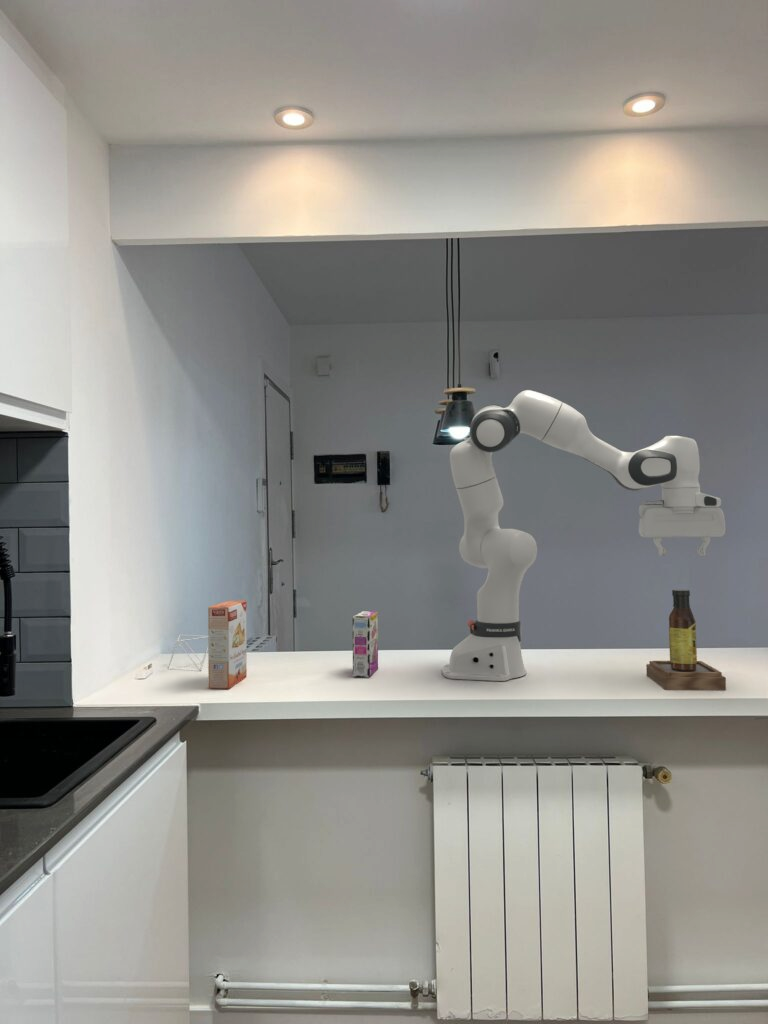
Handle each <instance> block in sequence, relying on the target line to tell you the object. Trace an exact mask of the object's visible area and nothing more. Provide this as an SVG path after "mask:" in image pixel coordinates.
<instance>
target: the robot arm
mask: <svg viewBox="0 0 768 1024" xmlns="http://www.w3.org/2000/svg"><path fill="white" fill-rule="evenodd" d="M586 419H587V418H585V416H584V415H583V414H582V413H581V412H580V411H578V410H576V409H575V407H572V406H571V405H569V404H568V403H565V402H563V401H561V400H559V399H557V398H554V397H552V396H549V395H547V394H545V393H541V392H538V391H534V390H531V389H526V390H523V391H521V392H519V393H518V394H517V395H516V396H515V397H514V398H513V399H512V402H511V403H510V404H509V405H508V406H506V407H504V406H502V405H499V404H489V405H486V406H484V407H481V409H479V410H478V411H477V412H476V413H475V415H473V418H472V420H471V423H470V426H469V438H467V439H466V440H463V441H460V442H459V443H457V444H455V446H453V447H452V448H451V450H450V452H449V462H450V469H451V470H450V471H451V475H452V480H453V483H454V486H455V489H456V492H457V495H458V500H459V503H460V507H461V510H462V513H463V519H464V520H463V522H464V530H463V536H462V537H461V538H460V541H459V546H458V547H459V548H458V550H459V554H460V557H461V559H462V560H463V562H465V563H467V564H469V565H471V566H473V567H476V568H479V569H488V571H487V577H486V579H485V582H484V583H483V585H482V586H481V587H480V588H479V589H478V590H477V593H476V602H477V603H476V605H477V607H476V608H477V613H476V614H477V616H476V617H477V619H476V620H475V621H474V620H473V619H471V620H469V621H468V622H467V627H468V628H469V632H470V634H469V635H468V636H467V637H465V638H464V639H463V640H462V641H461V642H459V643H458V644H457V645H455V646H454V647H453V649H452V651H451V653H450V657H449V663H448V664H444V665H443V666H442V668H441V674H442V676H443V677H444V678H447V679H451V680H452V679H453V680H473V681H494V682H507V681H508V680H511V679H516V678H520V677H523V676H526V674H527V670H526V668H525V663H524V661H523V656H522V649H521V641H522V624H521V620H520V615H519V614H520V610H519V609H520V608H519V607H520V589H521V587H522V586H521V585H522V581H523V579H524V576H525V574H526V573H527V570H528V569H529V568H530V567H531V566H533V564H534V563H535V561H536V559H537V556H538V546H537V545H538V544H537V542H536V540H535V538H534V537H533V536H532V534H530V533H528V532H526V531H523V530H519V529H517V528H501V527H500V525H499V524H500V523H499V513H500V511H501V510H502V508H503V507H504V498H503V497H504V496H503V494H502V491H501V488H500V485H499V482H498V478H497V475H496V472H495V468H494V465H493V460H492V456H493V453H496V452H499V451H502V450H503V449H505V448H506V447H508V445H509V444H511V442H512V441H514V439H515V438H517V436H518V435H520V434H525V435H528V436H531V437H532V438H534V439H536V440H539V441H540V442H542V443H544V444H546V445H549V446H551V447H553V448H556V449H558V450H562V451H565V452H567V453H571V454H573V455H577V456H580V457H581V458H583V459H584V460H586V461H588V462H590V463H592V464H594V465H596V466H598V467H599V468H601V469H603V470H604V471H606V472H607V473H609V475H611V476H612V478H613V479H614V480H615V482H616V483H617V484H618V485H619V486H620V487H622V488H623V489H625V490H627V491H632V492H633V491H639V490H640V491H641V490H643V489H646V488H651V487H654V486H657V485H660V486H661V499H659V500H645V501H643V502H642V503H640V504H639V506H638V509H637V510H638V516H639V522H638V534H639V535H640V537H642V538H653V543H654V545H655V546H656V548H657V552H658V553H657V554H658V556H660V557H661V556H662V557H663V556H667V548H664V547H663V546H662V544H661V543H660V542H662V541H663V538H700V537H701V539H700V540H701V542H702V544H701V546H700V547H696V554H697V556H706V553H707V552H706V551H707V550H706V549H708V548H707V547H708V546H709V544H710V543H711V538H712V537H713V538H715V537H719V538H721V537H723V536H724V535H725V533H726V529H727V528H726V520H725V519H726V518H725V514H724V511H723V509H722V508H720V506H721V505H722V500H721V498H720V497H716V496H713V495H710V494H706V493H702V492H701V484H700V482H699V475H700V471H701V469H700V468H701V467H700V466H701V465H700V464H701V463H700V453H699V447H698V444H697V441H696V440H695V439H694V438H692V437H690V436H687V435H681V434H680V435H679V434H670V435H666V436H664V437H663V438H662V439H661V440H658V441H657V442H655V443H654V444H652V445H649V446H647V447H644V448H642V449H639V450H636V451H634V452H630V451H623V450H620V449H618V448H617V447H615V446H613V445H611V444H610V443H607V442H606V441H604V440H602V439H600V438H598V437H597V436H595V434H593V433H592V432H591V430H590V428H589V426H588V422H587V420H586Z"/></svg>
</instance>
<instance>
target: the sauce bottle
mask: <svg viewBox="0 0 768 1024" xmlns="http://www.w3.org/2000/svg"><path fill="white" fill-rule="evenodd" d="M690 592H691V591H690V589H684V588H683V589H682V588H681V589H679V588H677V589H672V591H671V593H672V594H671V595H672V597H673V602H672V603H673V605H672V606H673V609H672V611H671V612H670V614H669V615H668V623H669V624H668V625H669V626H668V639H669V640H668V641H669V642H668V643H669V646H668V647H669V661H670V662H671V668H672V669H674V670H678V671H693V670H696V663H697V661H698V653H697V649H698V648H697V627H696V625H697V624H696V619H695V616H694V615H693V612H692V608H691V604H690V596H691V593H690Z"/></svg>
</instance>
